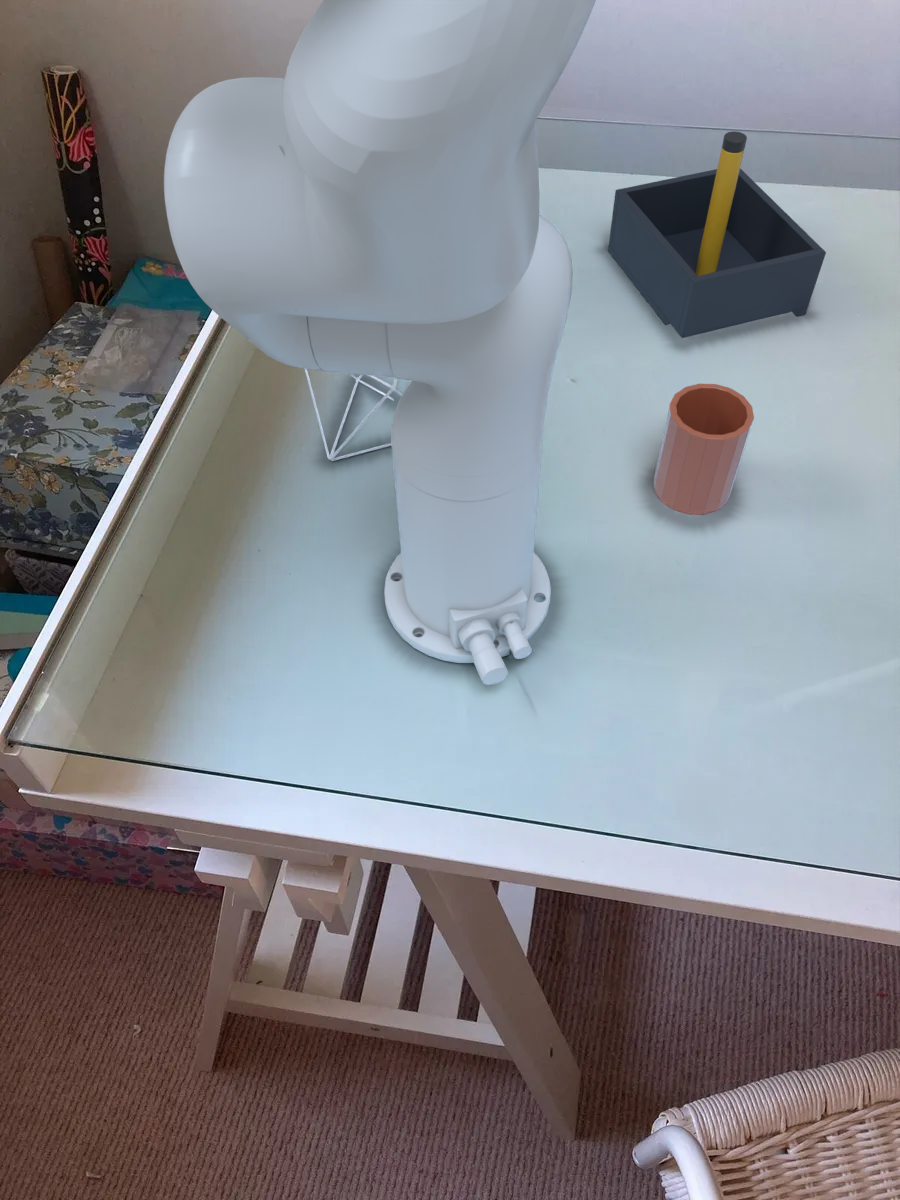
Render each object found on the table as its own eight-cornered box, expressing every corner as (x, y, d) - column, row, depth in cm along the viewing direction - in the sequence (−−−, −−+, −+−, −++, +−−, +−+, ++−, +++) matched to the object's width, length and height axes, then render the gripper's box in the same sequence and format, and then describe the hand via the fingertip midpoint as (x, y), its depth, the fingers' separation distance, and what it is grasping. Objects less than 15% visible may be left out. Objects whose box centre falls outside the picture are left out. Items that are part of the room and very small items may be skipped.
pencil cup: (741, 509, 78) (769, 427, 71) (673, 529, 77) (694, 447, 70) (705, 459, 82) (728, 376, 75) (639, 477, 81) (656, 394, 74)
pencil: (718, 277, 96) (751, 139, 85) (700, 281, 96) (731, 143, 85) (709, 266, 97) (740, 129, 86) (691, 270, 97) (720, 133, 86)
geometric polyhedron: (374, 491, 80) (366, 408, 73) (284, 433, 85) (268, 349, 77) (469, 413, 86) (470, 329, 79) (380, 363, 90) (373, 279, 83)
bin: (805, 314, 94) (826, 252, 88) (680, 344, 91) (693, 282, 86) (723, 225, 103) (737, 164, 98) (607, 250, 101) (615, 189, 95)
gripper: (419, -312, 49) (430, 42, 63) (718, -341, 53) (667, 2, 66) (378, -339, 54) (397, -2, 67) (657, -364, 57) (621, -37, 71)
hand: (531, 0), depth 67 cm, fingers open, 9 cm apart
